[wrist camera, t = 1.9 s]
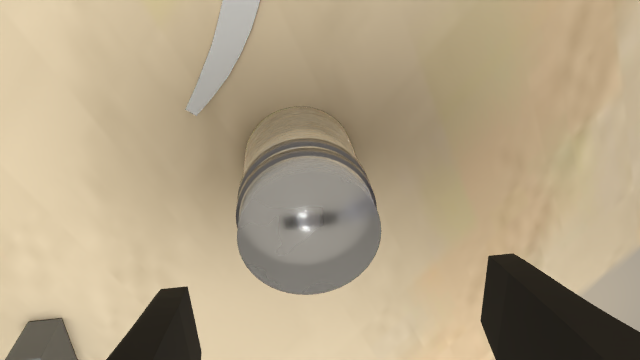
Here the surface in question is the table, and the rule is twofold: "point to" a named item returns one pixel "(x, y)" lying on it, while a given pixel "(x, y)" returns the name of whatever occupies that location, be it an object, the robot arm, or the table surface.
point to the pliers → (223, 50)
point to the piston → (305, 204)
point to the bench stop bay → (43, 342)
